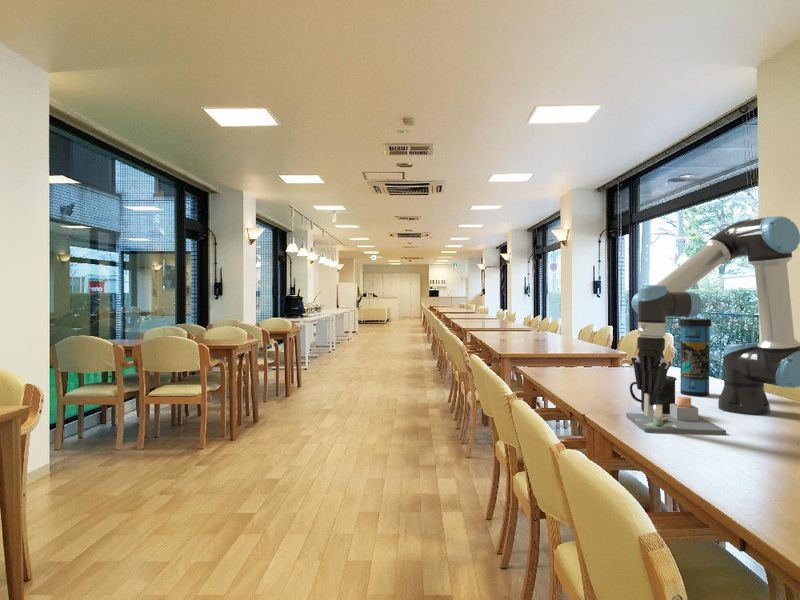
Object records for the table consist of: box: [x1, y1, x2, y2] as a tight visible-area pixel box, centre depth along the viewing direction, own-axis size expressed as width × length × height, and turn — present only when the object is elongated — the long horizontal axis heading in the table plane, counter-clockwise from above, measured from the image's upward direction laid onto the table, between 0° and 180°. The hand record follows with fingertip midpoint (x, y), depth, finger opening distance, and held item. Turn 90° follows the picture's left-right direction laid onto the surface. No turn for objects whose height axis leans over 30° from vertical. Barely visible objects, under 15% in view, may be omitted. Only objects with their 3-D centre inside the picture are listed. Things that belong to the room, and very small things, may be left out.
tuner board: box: [625, 403, 727, 436], centre depth 168 cm, size 22×20×5 cm
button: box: [676, 396, 692, 408], centre depth 172 cm, size 4×4×5 cm
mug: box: [629, 375, 677, 414], centre depth 187 cm, size 11×15×12 cm
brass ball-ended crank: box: [653, 404, 668, 426], centre depth 165 cm, size 11×3×6 cm, turn 145°
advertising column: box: [678, 317, 712, 398], centre depth 219 cm, size 11×11×30 cm
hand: (648, 415), depth 164 cm, fingers closed
